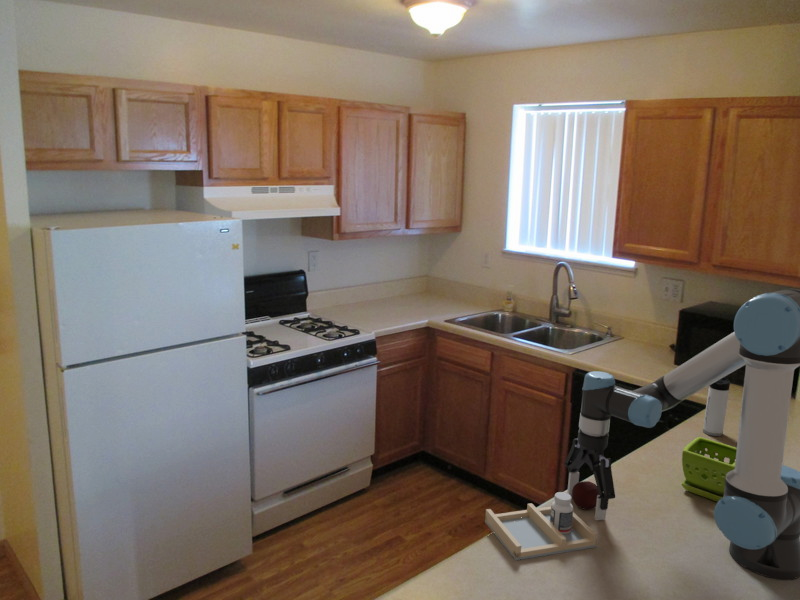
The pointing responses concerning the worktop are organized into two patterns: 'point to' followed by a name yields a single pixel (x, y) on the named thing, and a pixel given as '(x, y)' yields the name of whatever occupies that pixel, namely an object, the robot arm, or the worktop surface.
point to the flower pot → (707, 467)
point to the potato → (585, 495)
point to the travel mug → (716, 407)
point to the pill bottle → (562, 512)
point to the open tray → (537, 533)
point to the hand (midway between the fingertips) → (585, 506)
